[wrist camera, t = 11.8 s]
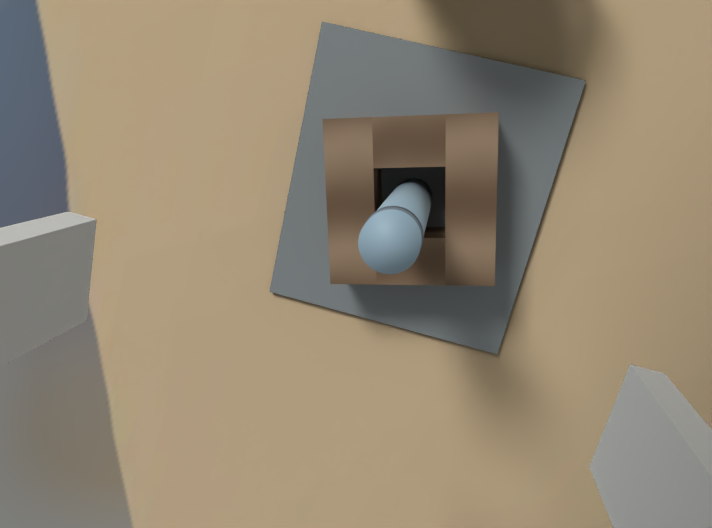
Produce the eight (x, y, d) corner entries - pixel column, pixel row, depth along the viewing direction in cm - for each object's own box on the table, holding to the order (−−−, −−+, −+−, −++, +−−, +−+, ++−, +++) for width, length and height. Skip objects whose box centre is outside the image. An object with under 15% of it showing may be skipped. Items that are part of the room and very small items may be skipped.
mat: (323, 22, 39) (321, 21, 39) (584, 80, 37) (585, 80, 37) (271, 290, 45) (269, 291, 44) (496, 352, 43) (497, 354, 42)
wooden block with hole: (334, 119, 40) (322, 118, 36) (494, 113, 38) (498, 112, 35) (341, 269, 43) (330, 284, 39) (490, 270, 41) (494, 285, 37)
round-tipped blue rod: (398, 172, 40) (365, 204, 25) (438, 182, 40) (428, 221, 25) (388, 212, 41) (350, 266, 26) (427, 222, 41) (412, 282, 26)
